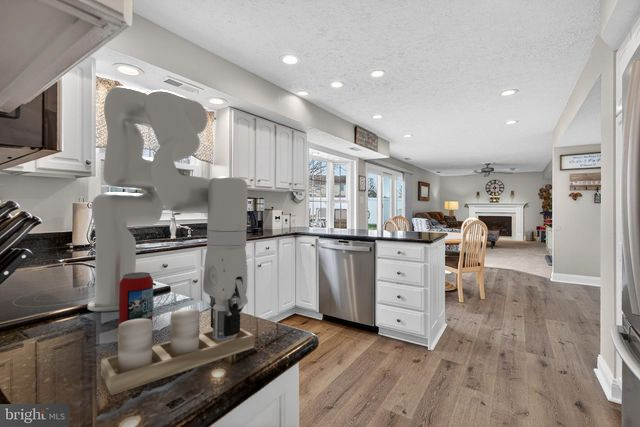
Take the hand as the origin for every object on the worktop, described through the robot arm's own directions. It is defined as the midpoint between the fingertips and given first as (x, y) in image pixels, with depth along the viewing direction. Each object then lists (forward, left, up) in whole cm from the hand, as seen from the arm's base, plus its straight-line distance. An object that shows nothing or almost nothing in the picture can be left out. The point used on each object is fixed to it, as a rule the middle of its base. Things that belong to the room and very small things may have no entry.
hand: (225, 329), depth 62 cm
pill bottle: (0, 0, -2) cm, 2 cm away
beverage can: (-24, -10, -4) cm, 26 cm away
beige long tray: (0, -8, -3) cm, 9 cm away
